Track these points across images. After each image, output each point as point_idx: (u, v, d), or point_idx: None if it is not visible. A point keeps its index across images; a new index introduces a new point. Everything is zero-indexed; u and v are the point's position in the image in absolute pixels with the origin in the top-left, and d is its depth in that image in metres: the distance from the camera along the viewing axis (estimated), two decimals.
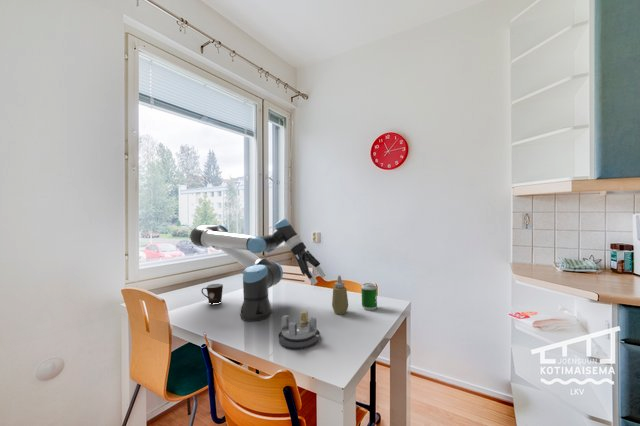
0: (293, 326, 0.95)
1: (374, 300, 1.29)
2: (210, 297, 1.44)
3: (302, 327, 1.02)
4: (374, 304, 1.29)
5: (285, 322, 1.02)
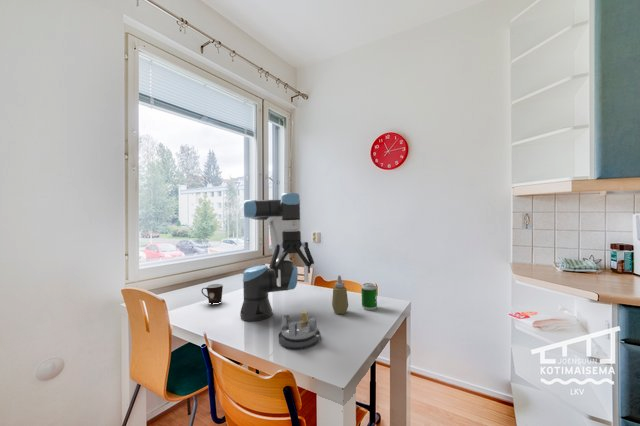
0: (293, 326, 0.95)
1: (374, 300, 1.29)
2: (210, 297, 1.44)
3: (302, 327, 1.02)
4: (374, 304, 1.29)
5: (285, 322, 1.02)
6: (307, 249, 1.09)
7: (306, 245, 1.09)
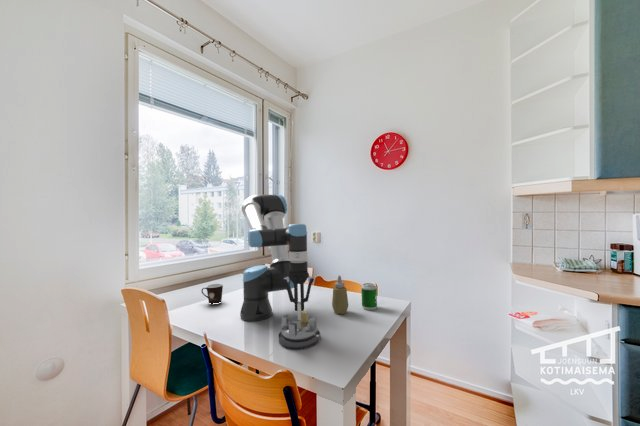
0: (293, 326, 0.95)
1: (374, 300, 1.29)
2: (210, 297, 1.44)
3: (302, 327, 1.02)
4: (374, 304, 1.29)
5: (285, 322, 1.02)
6: (309, 285, 1.06)
7: (311, 281, 1.06)
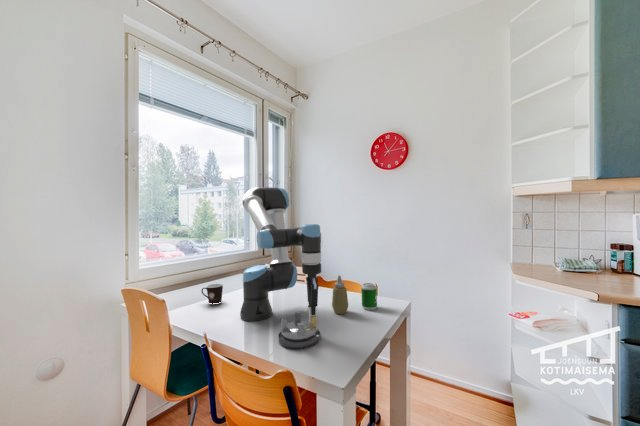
0: (281, 321, 1.00)
1: (374, 300, 1.29)
2: (210, 297, 1.44)
3: None
4: (374, 304, 1.29)
5: (294, 317, 1.07)
6: (311, 290, 0.99)
7: (311, 287, 0.99)
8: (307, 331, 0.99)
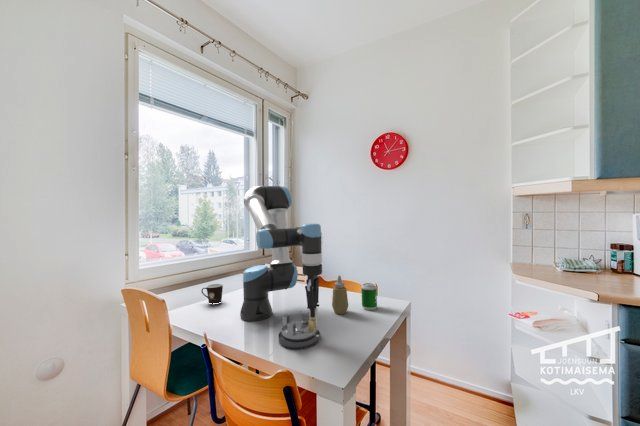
0: None
1: (374, 300, 1.29)
2: (210, 297, 1.44)
3: (299, 329, 1.00)
4: (374, 304, 1.29)
5: None
6: None
7: None
8: (300, 333, 0.97)
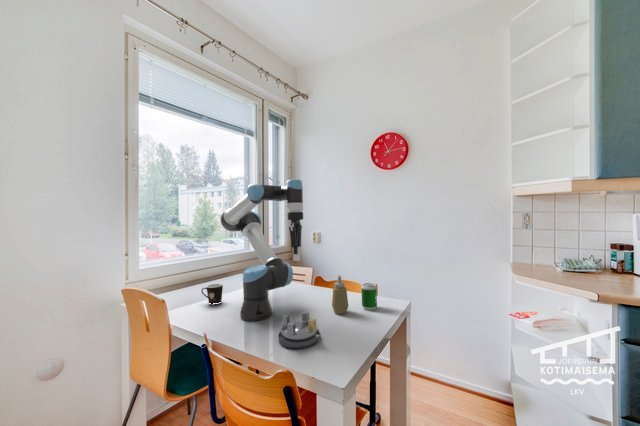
0: None
1: (374, 300, 1.29)
2: (210, 297, 1.44)
3: (299, 329, 1.00)
4: (374, 304, 1.29)
5: None
6: None
7: None
8: (300, 333, 0.97)
